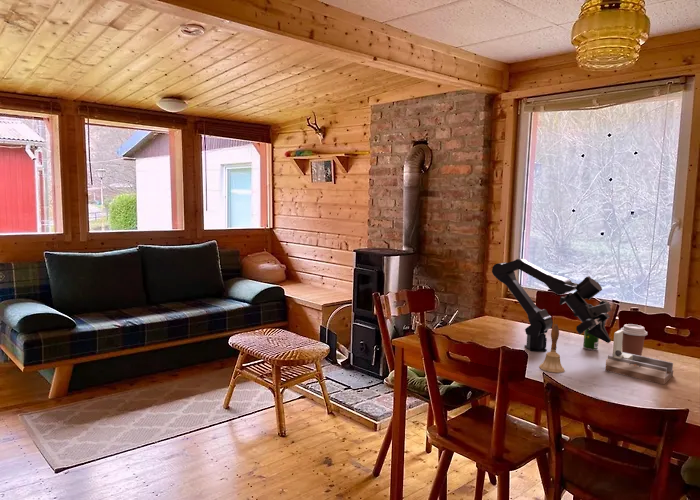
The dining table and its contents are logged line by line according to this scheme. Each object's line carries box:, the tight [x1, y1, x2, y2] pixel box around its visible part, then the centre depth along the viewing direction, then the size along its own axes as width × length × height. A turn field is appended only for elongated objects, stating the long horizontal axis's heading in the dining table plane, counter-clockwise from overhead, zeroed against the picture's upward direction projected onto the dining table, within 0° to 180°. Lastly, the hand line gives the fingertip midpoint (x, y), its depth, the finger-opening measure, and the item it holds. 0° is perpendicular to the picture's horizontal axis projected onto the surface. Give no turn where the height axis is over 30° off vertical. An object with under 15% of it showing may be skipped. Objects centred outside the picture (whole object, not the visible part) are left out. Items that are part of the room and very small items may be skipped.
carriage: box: [611, 329, 633, 360], centre depth 181 cm, size 5×9×11 cm, turn 136°
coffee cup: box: [619, 323, 648, 356], centre depth 196 cm, size 9×9×12 cm
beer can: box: [582, 329, 600, 351], centre depth 206 cm, size 5×5×12 cm
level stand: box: [604, 351, 674, 385], centre depth 179 cm, size 18×12×5 cm, turn 46°
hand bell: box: [538, 323, 565, 374], centre depth 180 cm, size 8×8×16 cm
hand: (609, 342), depth 185 cm, fingers closed
